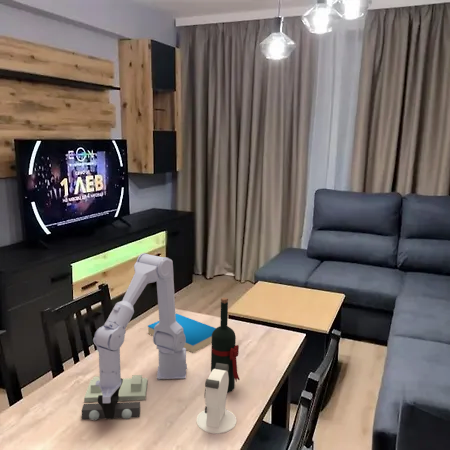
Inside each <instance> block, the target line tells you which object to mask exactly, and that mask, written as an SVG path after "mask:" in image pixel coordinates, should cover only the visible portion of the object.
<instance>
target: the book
mask: <svg viewBox="0 0 450 450" xmlns="http://www.w3.org/2000/svg"><path fill="white" fill-rule="evenodd" d="M175 315H176V321H177V323H179V324H180V325H181V326H182V327H183V332H184V334H185V338H186V342H185V345H184V347H183V348H186V351H188V352H191V353H193V354H194V353H196V352H198V351H200V350H202V349H204V348H205V347H207V346H209V345H212V333H213V331H214V330H215V329H216V328H217V327H215V326H211V325H209V324H206V323H203V322H201V321H198V320H195V319H192V318H190V317H186V316H184V315H181V314H179V313H175ZM158 323H159V320H157V321H155V322H153V323H150V324H149V325H147V328H148V329H147V330H148V331H147V332H148V334H149V335H151V336H153V335H154V327H155V326H156V325H157V324H158Z"/></svg>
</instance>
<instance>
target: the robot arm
mask: <svg viewBox="0 0 450 450" xmlns="http://www.w3.org/2000/svg"><path fill="white" fill-rule="evenodd" d="M133 269H134V274H133V276H132V279H131V281H130V283H129V285H128V287H127V290H126V292H125V294H124V296H123V298H122V300H121V301H117V302H116V303H115V304H114V307H112V310H111V312H110V314H109V315H108V318H107V319H106V321H105V322H104V324H103V325H102V326H100V327H99V328H97V330H96V331H95V332H94V337H93V339H92V341H93V343H94V345H95V346H96V350H97V352H98V368H99V369H98V370H99V371H98V373H99V376H100V380H99V381H96V386H97V387H100V390H101V392H102V395H99V396H98V402H97V403H99V404H100V405H101V407H102V409H103V412H104V415H105V418H106V419H105V420H114V419H115V418H114V413H115V406H116V403H119V401H118V399H119V396H118V394H119V389H120V387H121V385H122V382H123V379H124V378H122V376H121V375H122V374H121V349H120V348H122V346H123V344H124V342H125V336H126V331H127V330H126V328H127V326H128V324H129V323H130V321H131V320H132V317H133V315H134V313H135V310H134V305H135V304H136V302H137V300H138V299H139V297H140V296H141V294H142V293H143V291H144V289H146V287H147V285H148V284H151V283H155V282H156V291H157V293H156V295H157V308H158V319H159V320H158V321H159V323H158V324H157V325H156V326H155V327H154V335H152V342H153V344H154V345H155V346H156V349H157V350H158V366H157V374H156V379H157V380H178V379H182V380H183V379H187V370H188V363H187V350H186V348H183V347H184V345H185V342H186V338H185V334H184V332H183V327H182V326H181V325H180V324H179V323H177V321H176V315H175V314H176V301H175V283H174V280H175V279H174V264H173V260H172V259H171V258H169V257H165V256H164V257H163V256H158V255H154V254H148V253H145V252H143V253H140V254H139V255H138V257H137V259H136V262H135V263H134V264H133Z"/></svg>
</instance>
